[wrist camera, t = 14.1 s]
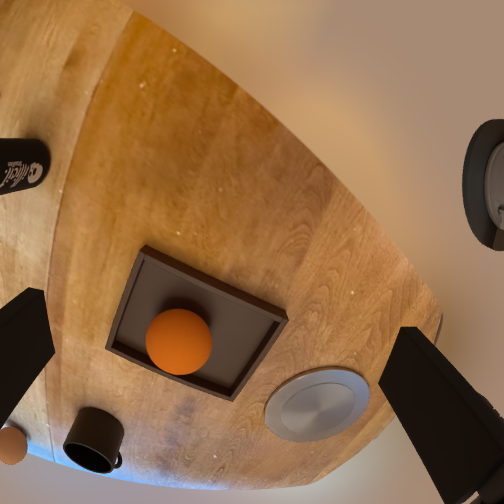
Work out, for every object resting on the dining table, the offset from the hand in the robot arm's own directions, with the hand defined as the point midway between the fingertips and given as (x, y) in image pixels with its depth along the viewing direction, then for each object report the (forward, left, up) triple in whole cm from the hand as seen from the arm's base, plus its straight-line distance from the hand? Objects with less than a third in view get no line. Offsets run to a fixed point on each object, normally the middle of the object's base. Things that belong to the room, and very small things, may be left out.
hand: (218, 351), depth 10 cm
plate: (-18, +30, -27) cm, 43 cm away
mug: (+19, +42, -27) cm, 53 cm away
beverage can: (+27, -4, -27) cm, 38 cm away
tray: (+3, +16, -27) cm, 31 cm away
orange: (+4, +15, -22) cm, 27 cm away
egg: (+46, +56, -27) cm, 77 cm away
